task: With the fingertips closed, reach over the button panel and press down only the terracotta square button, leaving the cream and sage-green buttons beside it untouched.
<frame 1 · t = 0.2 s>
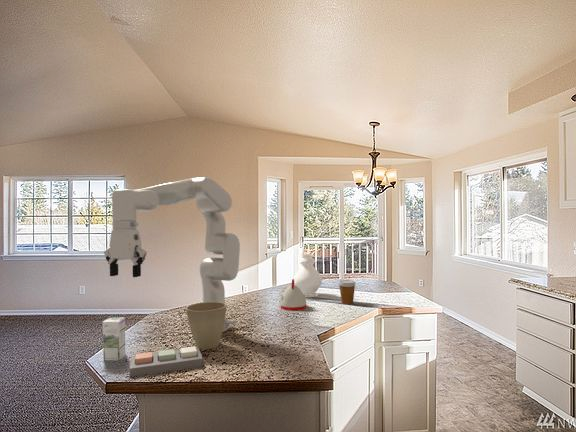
hand: (125, 276, 131), 30 cm above the table, tool pointing down, fingers open, 9 cm apart
terracotta button: (144, 359, 125), point 4 cm above the table, slide at 0.0 cm
disposable coffee cup: (347, 303, 215), on the table
syrup box: (114, 360, 135), on the table
sage button: (166, 356, 127), point 4 cm above the table, slide at 0.0 cm
decorative vase: (308, 295, 238), on the table
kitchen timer: (293, 307, 208), on the table
button panel: (166, 367, 127), on the table
cream button: (188, 353, 129), point 4 cm above the table, slide at 0.0 cm
plant pot: (207, 348, 145), on the table
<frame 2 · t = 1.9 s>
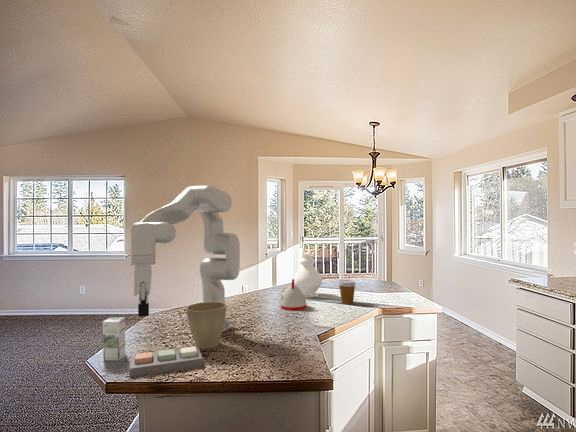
hand: (143, 315, 127), 17 cm above the table, tool pointing down, fingers closed
nothing on the table moved.
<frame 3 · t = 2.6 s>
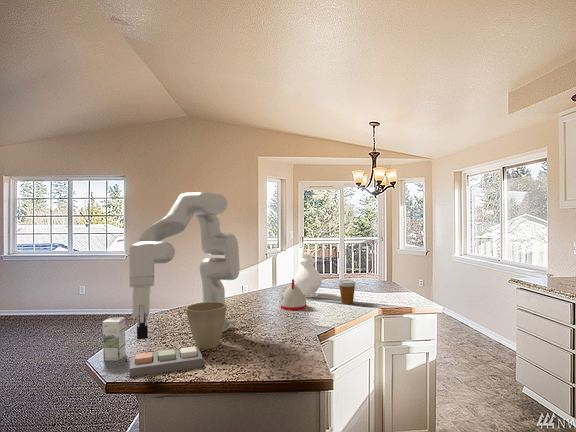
hand: (142, 338, 124), 11 cm above the table, tool pointing down, fingers closed
nothing on the table moved.
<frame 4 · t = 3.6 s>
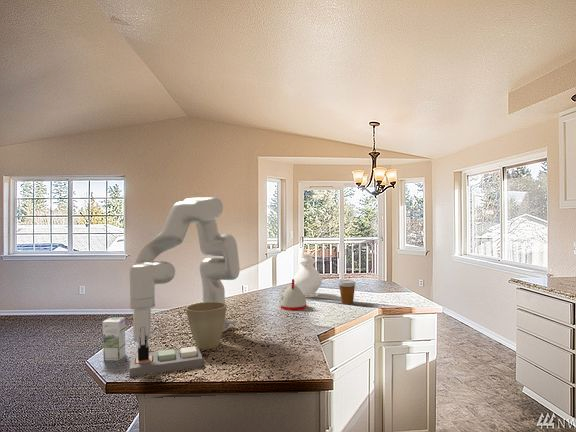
hand: (143, 359, 125), 4 cm above the table, tool pointing down, fingers closed
terracotta button: (144, 363, 125), point 3 cm above the table, slide at 1.2 cm, touching gripper
everything else where it was.
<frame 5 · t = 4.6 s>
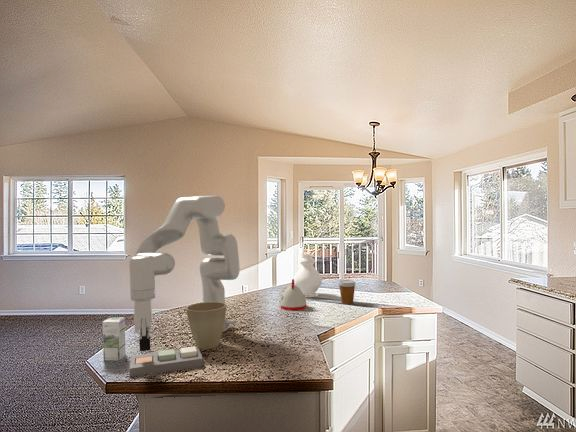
hand: (145, 349, 125), 7 cm above the table, tool pointing down, fingers closed
terracotta button: (144, 363, 125), point 2 cm above the table, slide at 1.5 cm
everything else where it was.
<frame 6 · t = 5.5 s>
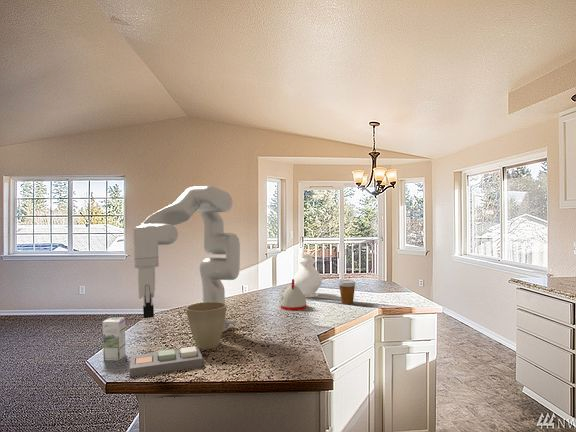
hand: (148, 317, 128), 16 cm above the table, tool pointing down, fingers closed
nothing on the table moved.
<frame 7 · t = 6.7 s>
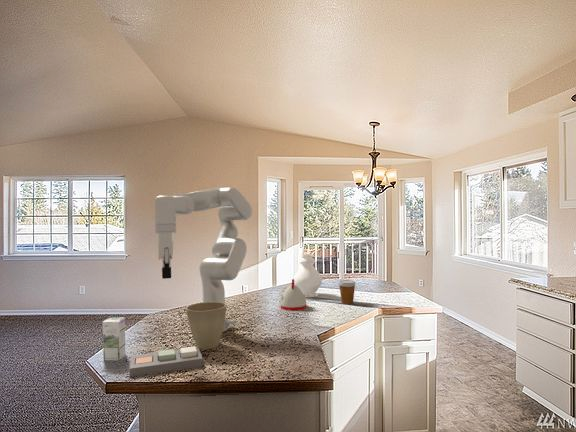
hand: (166, 278, 144), 27 cm above the table, tool pointing down, fingers closed
nothing on the table moved.
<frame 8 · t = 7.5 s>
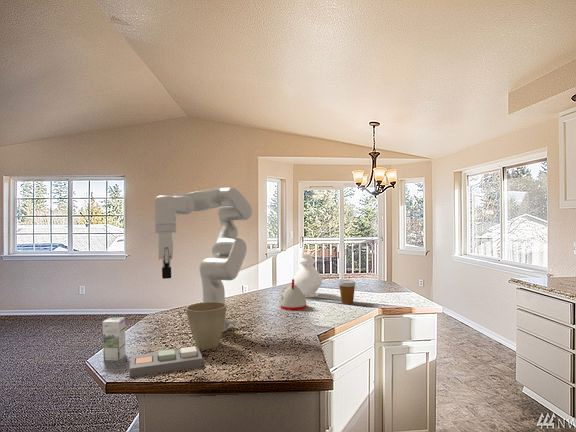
hand: (166, 278, 144), 27 cm above the table, tool pointing down, fingers closed
nothing on the table moved.
at the end: terracotta button slide at 1.5 cm; sage button slide at 0.0 cm; cream button slide at 0.0 cm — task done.
